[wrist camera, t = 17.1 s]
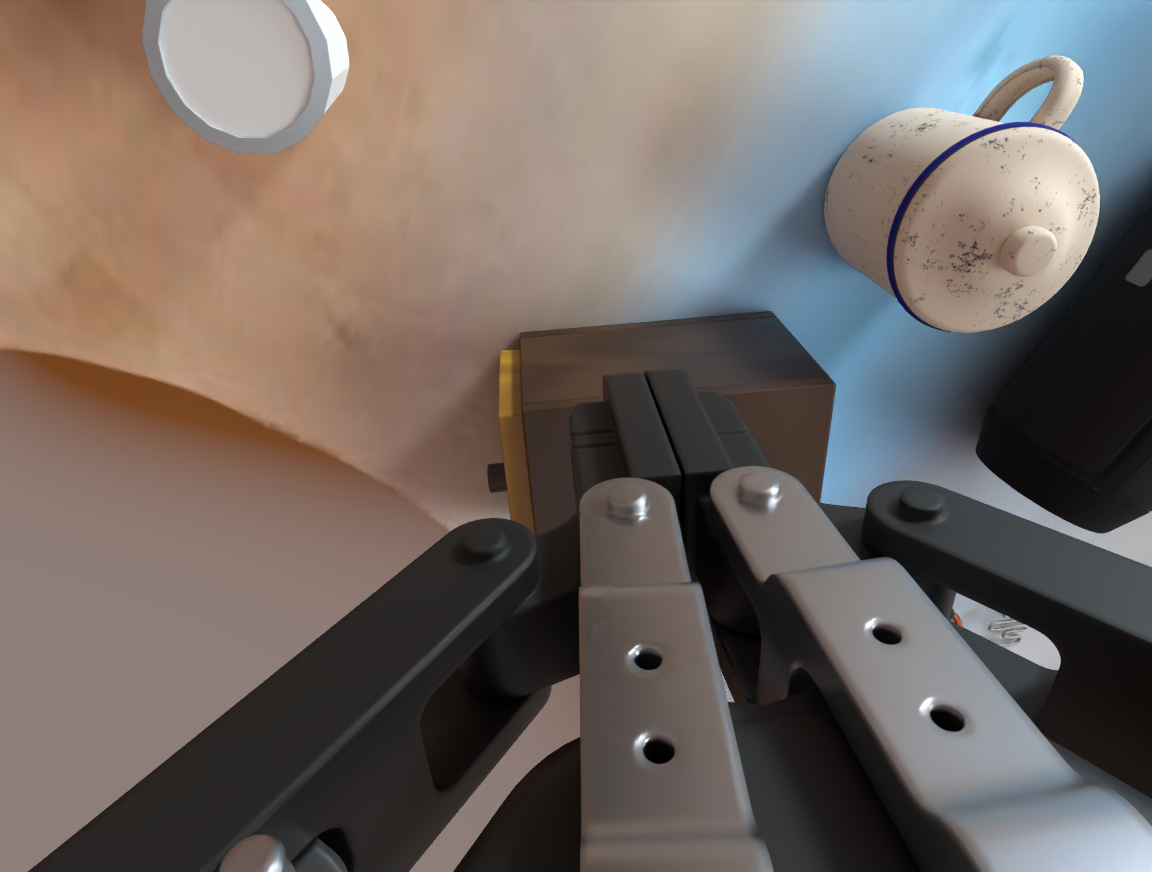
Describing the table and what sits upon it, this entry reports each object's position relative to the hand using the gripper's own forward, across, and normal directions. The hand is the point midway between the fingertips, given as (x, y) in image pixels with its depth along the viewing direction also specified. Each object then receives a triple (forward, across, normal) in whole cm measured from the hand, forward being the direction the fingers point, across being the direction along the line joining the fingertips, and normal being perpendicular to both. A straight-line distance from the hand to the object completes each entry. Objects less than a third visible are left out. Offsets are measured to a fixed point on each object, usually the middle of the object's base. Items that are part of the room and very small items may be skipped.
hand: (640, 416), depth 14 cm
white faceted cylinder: (+27, +12, -6) cm, 30 cm away
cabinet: (+27, -4, +16) cm, 31 cm away
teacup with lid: (+27, -19, +2) cm, 33 cm away
